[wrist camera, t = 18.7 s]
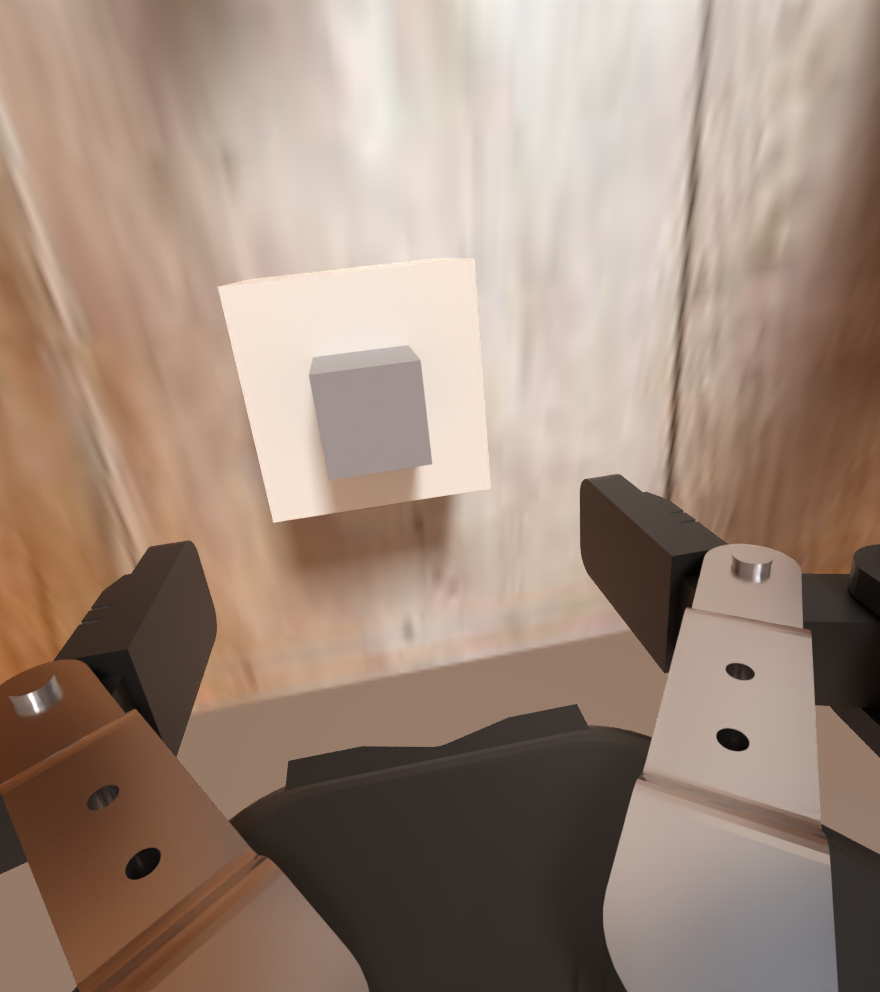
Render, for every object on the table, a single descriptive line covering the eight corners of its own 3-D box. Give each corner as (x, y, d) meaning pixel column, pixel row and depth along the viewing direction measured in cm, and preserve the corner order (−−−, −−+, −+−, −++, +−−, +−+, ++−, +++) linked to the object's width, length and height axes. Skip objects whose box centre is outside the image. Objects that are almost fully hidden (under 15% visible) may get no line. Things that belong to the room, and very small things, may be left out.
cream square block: (439, 258, 32) (499, 258, 20) (456, 436, 36) (514, 523, 24) (249, 279, 31) (195, 292, 19) (288, 461, 35) (263, 564, 23)
